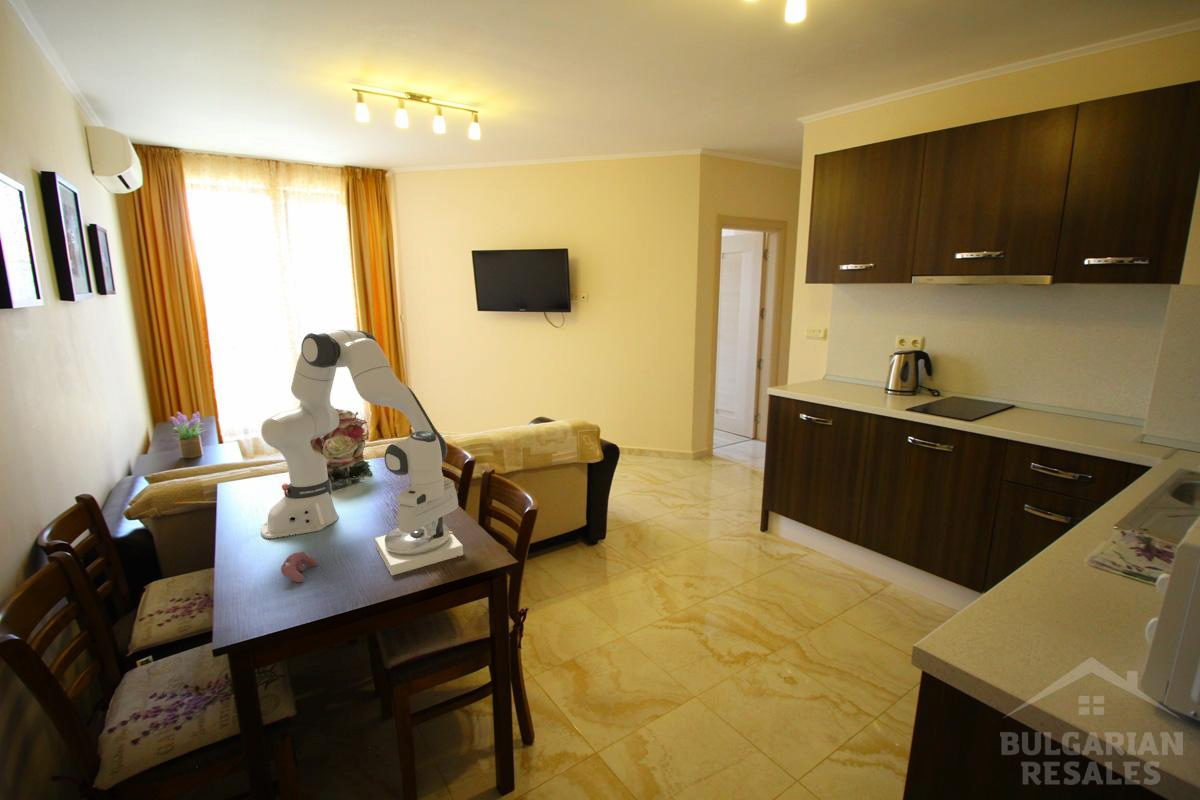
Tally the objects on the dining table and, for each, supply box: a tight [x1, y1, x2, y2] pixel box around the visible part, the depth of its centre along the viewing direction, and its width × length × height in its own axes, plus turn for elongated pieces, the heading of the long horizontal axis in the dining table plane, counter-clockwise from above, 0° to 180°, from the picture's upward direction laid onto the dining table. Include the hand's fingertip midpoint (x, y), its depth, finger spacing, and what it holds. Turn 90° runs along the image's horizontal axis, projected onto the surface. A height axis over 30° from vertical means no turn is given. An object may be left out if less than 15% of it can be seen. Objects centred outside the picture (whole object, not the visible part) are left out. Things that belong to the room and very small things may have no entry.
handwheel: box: [385, 516, 450, 556], centre depth 156 cm, size 18×18×8 cm
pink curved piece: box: [280, 550, 319, 583], centre depth 145 cm, size 10×5×7 cm, turn 5°
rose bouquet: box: [310, 408, 375, 492], centre depth 216 cm, size 26×29×30 cm
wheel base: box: [374, 530, 464, 576], centre depth 157 cm, size 20×20×3 cm
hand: (431, 535), depth 152 cm, fingers closed
